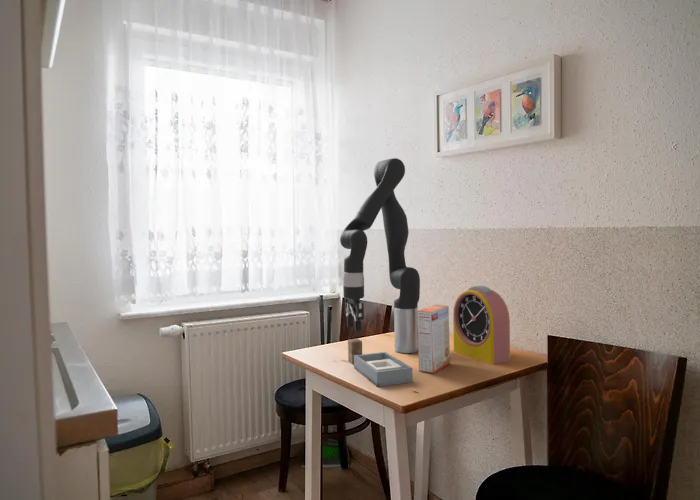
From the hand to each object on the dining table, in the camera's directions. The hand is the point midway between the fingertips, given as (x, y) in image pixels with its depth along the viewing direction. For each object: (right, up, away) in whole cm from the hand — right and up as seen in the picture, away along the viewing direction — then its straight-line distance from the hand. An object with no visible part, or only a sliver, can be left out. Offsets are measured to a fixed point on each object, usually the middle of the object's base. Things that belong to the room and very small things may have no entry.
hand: (354, 329), depth 171 cm
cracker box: (+28, -12, -8) cm, 31 cm away
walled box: (+9, -13, -15) cm, 22 cm away
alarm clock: (+48, -11, +5) cm, 49 cm away
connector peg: (0, -12, +1) cm, 12 cm away
